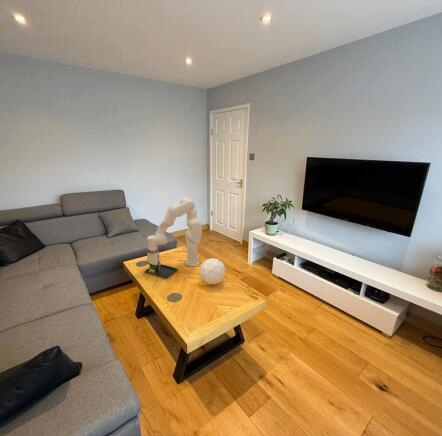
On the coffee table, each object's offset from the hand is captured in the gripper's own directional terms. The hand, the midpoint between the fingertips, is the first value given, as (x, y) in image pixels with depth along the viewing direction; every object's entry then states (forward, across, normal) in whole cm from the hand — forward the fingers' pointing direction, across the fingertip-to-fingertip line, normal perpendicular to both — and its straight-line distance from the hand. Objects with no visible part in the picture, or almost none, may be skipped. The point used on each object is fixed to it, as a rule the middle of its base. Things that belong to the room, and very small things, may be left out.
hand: (154, 270), depth 194 cm
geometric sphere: (+1, -50, -8) cm, 50 cm away
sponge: (+1, 0, 0) cm, 1 cm away
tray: (+1, -5, -3) cm, 6 cm away
